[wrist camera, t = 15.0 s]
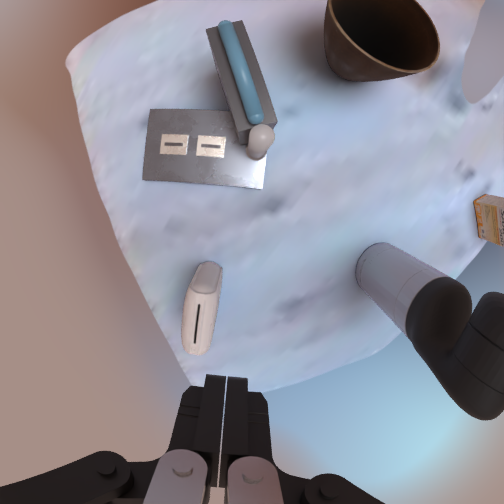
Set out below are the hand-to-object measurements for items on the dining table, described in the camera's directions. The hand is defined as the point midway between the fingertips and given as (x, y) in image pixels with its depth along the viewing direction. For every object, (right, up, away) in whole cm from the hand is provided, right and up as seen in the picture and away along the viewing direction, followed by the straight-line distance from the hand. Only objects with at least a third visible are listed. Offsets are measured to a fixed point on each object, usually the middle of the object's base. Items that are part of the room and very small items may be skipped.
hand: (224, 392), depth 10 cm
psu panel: (-6, +21, +30) cm, 37 cm away
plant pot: (+16, +36, +27) cm, 48 cm away
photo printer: (-6, -1, +36) cm, 37 cm away
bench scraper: (0, +26, +27) cm, 37 cm away
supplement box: (+48, +13, +34) cm, 60 cm away
